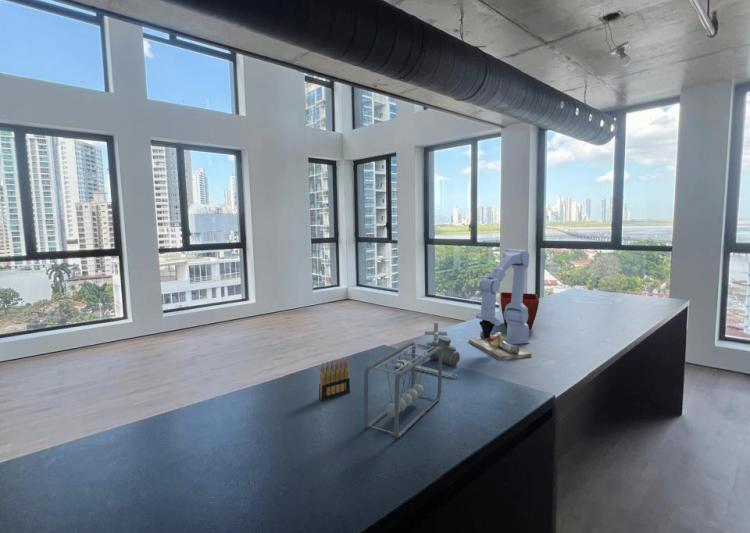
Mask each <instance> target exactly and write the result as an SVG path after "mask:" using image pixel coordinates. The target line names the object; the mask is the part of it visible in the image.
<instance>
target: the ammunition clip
mask: <svg viewBox="0 0 750 533" xmlns="http://www.w3.org/2000/svg"><path fill="white" fill-rule="evenodd" d="M349 375H350V370H349V361H348V357H346V356H345V359H344V360H343V358H340V361H339V360H338V359H336V360H335V364H334V361H333V360H332V359H331V361H330V362H329V361H326V364H324V362H322V363H321V365H320V376H319V377H320V378H319V379H320V380H319V388H318V399H319V401H321V402H324V401H327V400H331V399H335V398H338V397H341V396H343V395H348V394H350V393H351V387H350V382H351V381H350V376H349Z"/></svg>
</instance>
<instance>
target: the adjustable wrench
mask: <svg viewBox="0 0 750 533" xmlns="http://www.w3.org/2000/svg"><path fill="white" fill-rule="evenodd" d="M396 361H397V362H396V363H395V367H396V368H397V367H398V369H399V368H401V366H404V365H405V364H407V363H408V362H410V361H409V360H407V363H406V359H400V361H398V360H396ZM403 361H405V362H403ZM400 363H401V366H400ZM403 364H404V365H403ZM411 364H412V362H411V363H409V364H408V366H409V365H411ZM396 365H398V366H396ZM406 367H407V365H406V366H405V367H403V368H402V370H403V369H405V368H406ZM415 369H416V370H421V369H422V371H425V372H424V373H426V372H430V373H435V374H438V369H435V368H430V367H425V366H423V367H422V365H418V368H417V366H415ZM416 370H415V371H416ZM430 373H429V374H430ZM442 375H444V376H448V377H451V378H457V379H458V375H457V374H456V373H452V372H447V371H444V370H442Z"/></svg>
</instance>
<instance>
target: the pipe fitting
mask: <svg viewBox="0 0 750 533" xmlns="http://www.w3.org/2000/svg"><path fill="white" fill-rule="evenodd" d="M451 343H452V338H449V337H448V336H443V335H439V336H438V340H435V341H434V340H433V341H432V342H430V344H429V345H428V346H433V347H438V346H440V347H441V348H442V363H445V364H447V365H449V366H451V367H455V366H456V365H458V363H459V362H460V358H461V354H460V353H459V351H457V349H456V347H455V346H452V345H451ZM427 348H428V349H430V348H431V347H427ZM428 349H427V350H428ZM433 349H435V348H432V349H431V350H429V351H428V352H427V353H429V352H430V351H432V350H433ZM428 359H430V360H432V361H437V360H438V361H439V351H437V352H436V353H434V354H433V355H431V356H430V357H428Z"/></svg>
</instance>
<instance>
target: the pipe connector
mask: <svg viewBox="0 0 750 533" xmlns="http://www.w3.org/2000/svg"><path fill="white" fill-rule="evenodd" d="M424 335H425V336H433V341H435V340H438V338H439V336H444V337H448V332H447V331H443V330H442V331H439V322H437V321H434V322H433V330H425V331H424ZM438 341H439V340H438Z"/></svg>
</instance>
